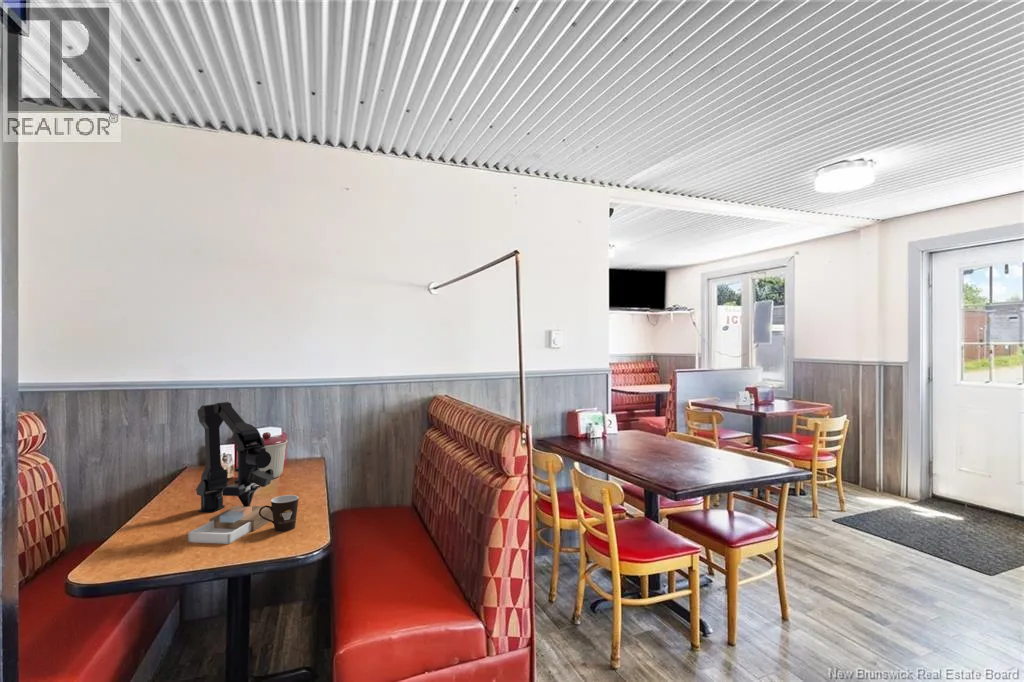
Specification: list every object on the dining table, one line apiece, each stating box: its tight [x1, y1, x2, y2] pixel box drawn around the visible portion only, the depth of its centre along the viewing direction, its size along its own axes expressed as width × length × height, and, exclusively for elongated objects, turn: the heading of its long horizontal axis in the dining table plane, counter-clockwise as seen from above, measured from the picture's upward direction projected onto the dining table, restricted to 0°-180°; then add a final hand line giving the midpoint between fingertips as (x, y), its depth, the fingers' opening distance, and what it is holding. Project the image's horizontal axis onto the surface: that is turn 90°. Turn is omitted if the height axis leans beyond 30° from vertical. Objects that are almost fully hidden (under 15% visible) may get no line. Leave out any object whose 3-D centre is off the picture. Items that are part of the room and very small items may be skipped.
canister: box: [251, 431, 288, 479], centre depth 237 cm, size 18×18×21 cm
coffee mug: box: [259, 494, 299, 533], centre depth 171 cm, size 12×9×10 cm
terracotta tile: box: [230, 505, 252, 517], centre depth 175 cm, size 5×5×2 cm
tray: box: [187, 520, 251, 545], centre depth 164 cm, size 14×11×3 cm
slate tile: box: [220, 511, 243, 523], centre depth 170 cm, size 5×5×2 cm
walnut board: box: [209, 505, 273, 532], centre depth 177 cm, size 16×14×4 cm
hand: (247, 508), depth 178 cm, fingers closed
